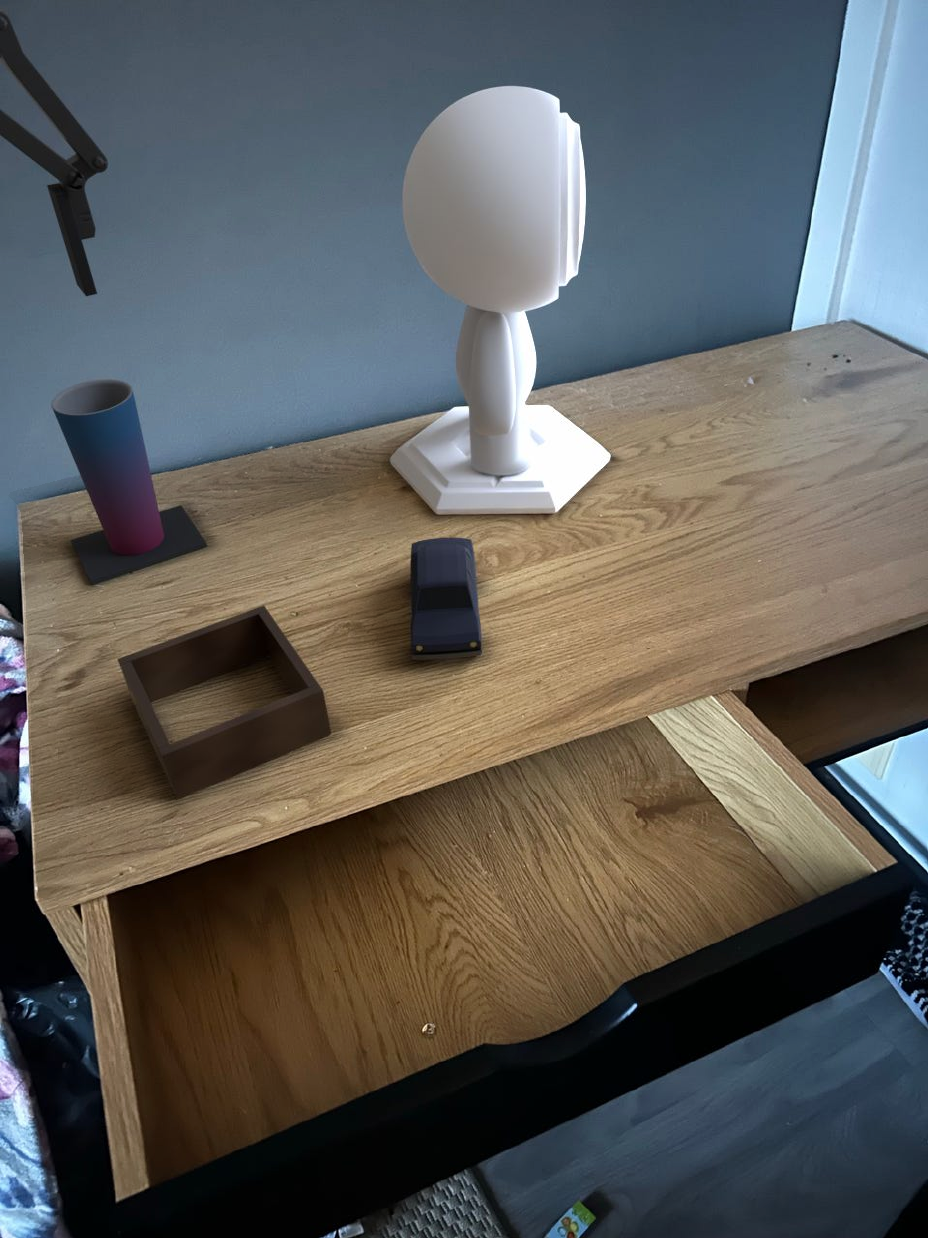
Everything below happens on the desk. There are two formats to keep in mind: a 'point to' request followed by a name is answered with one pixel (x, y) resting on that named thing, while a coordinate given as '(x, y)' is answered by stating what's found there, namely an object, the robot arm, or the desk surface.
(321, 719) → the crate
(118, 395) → the cup
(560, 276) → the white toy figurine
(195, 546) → the mat
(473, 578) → the toy car
